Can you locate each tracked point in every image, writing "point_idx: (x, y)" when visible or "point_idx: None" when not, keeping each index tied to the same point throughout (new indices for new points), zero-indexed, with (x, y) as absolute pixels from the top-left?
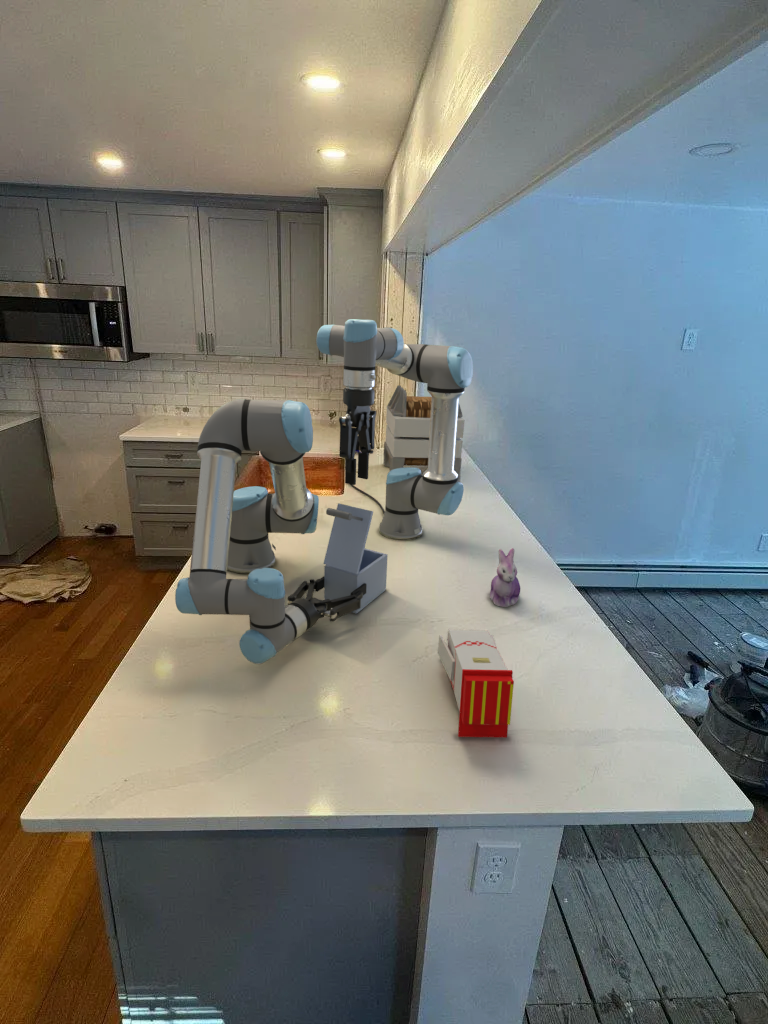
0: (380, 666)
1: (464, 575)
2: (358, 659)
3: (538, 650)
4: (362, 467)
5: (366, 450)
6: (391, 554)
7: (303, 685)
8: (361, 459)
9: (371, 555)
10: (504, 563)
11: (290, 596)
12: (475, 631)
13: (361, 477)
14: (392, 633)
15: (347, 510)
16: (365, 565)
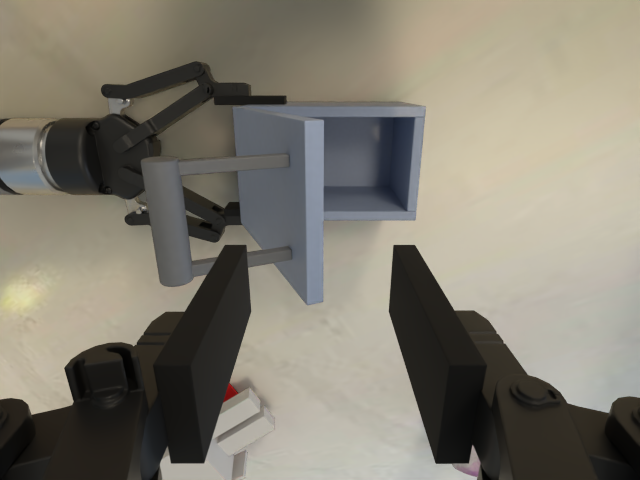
0: (147, 311)
1: (548, 301)
2: (137, 274)
3: (336, 465)
4: (406, 325)
5: (489, 473)
6: (604, 98)
7: (18, 240)
8: (426, 358)
9: (407, 168)
10: (479, 466)
11: (108, 91)
12: (211, 475)
13: (393, 277)
14: None
15: (296, 182)
16: (401, 143)
